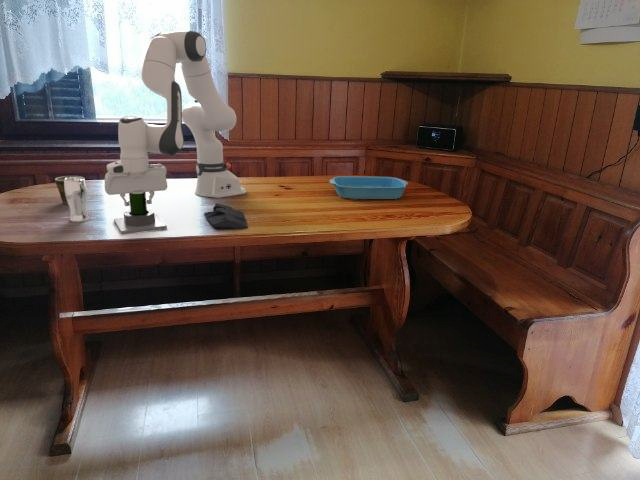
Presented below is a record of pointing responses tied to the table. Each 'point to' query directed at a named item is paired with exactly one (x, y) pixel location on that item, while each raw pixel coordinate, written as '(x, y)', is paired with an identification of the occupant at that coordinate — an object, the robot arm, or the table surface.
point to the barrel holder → (139, 222)
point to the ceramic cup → (62, 187)
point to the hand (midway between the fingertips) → (138, 204)
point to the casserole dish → (368, 187)
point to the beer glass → (76, 198)
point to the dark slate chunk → (226, 217)
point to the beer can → (138, 203)
